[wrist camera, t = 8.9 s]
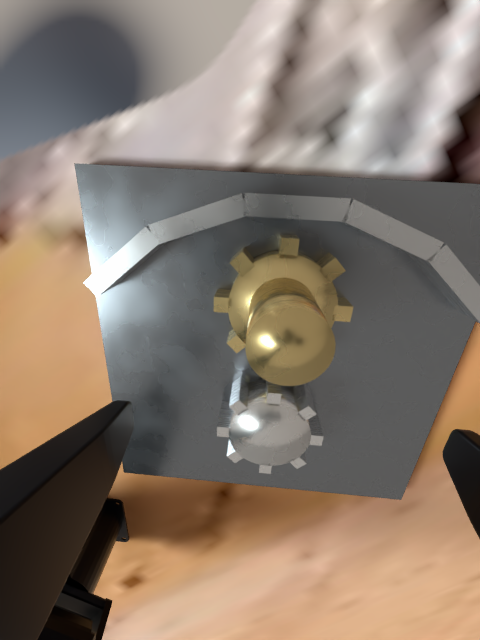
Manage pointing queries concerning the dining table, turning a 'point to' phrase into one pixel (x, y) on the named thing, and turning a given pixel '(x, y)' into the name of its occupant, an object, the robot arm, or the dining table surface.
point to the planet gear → (284, 312)
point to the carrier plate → (233, 368)
